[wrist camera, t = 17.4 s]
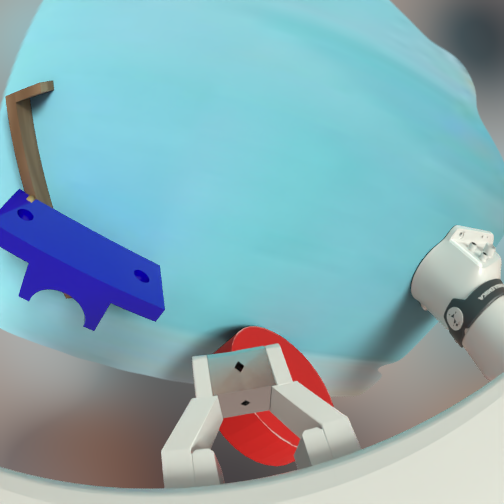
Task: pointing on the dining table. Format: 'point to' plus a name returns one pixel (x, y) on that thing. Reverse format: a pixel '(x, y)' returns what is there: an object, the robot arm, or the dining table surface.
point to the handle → (28, 142)
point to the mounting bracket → (78, 262)
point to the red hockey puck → (265, 423)
